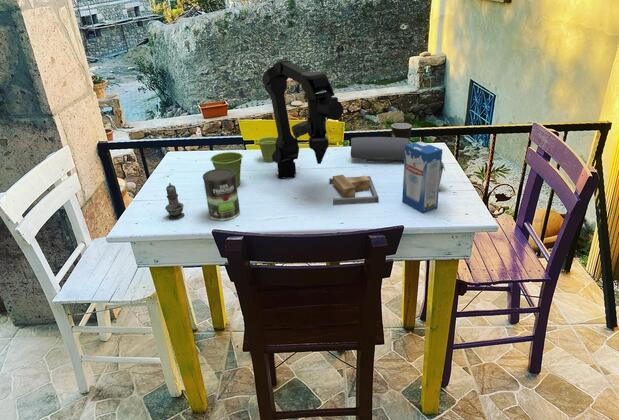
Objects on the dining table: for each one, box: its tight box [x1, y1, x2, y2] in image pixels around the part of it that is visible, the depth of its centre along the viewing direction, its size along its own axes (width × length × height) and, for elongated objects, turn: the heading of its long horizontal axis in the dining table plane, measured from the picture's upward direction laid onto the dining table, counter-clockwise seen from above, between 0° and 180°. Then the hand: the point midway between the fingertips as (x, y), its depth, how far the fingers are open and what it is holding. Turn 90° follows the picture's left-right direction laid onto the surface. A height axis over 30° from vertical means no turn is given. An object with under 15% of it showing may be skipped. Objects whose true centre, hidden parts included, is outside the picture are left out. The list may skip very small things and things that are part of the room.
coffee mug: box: [390, 122, 413, 141], centre depth 197 cm, size 12×9×10 cm
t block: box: [332, 174, 370, 198], centre depth 160 cm, size 11×12×4 cm
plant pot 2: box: [257, 136, 278, 163], centre depth 191 cm, size 9×9×9 cm
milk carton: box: [401, 140, 443, 214], centre depth 144 cm, size 10×6×20 cm, turn 29°
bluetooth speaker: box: [350, 136, 410, 163], centre depth 184 cm, size 23×9×10 cm, turn 80°
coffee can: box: [202, 168, 241, 222], centre depth 147 cm, size 10×10×14 cm
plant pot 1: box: [209, 151, 244, 188], centre depth 168 cm, size 12×12×11 cm
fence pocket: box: [328, 175, 380, 206], centre depth 159 cm, size 15×18×2 cm
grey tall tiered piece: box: [164, 182, 185, 221], centre depth 147 cm, size 6×6×12 cm
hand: (318, 158), depth 155 cm, fingers open, 9 cm apart
